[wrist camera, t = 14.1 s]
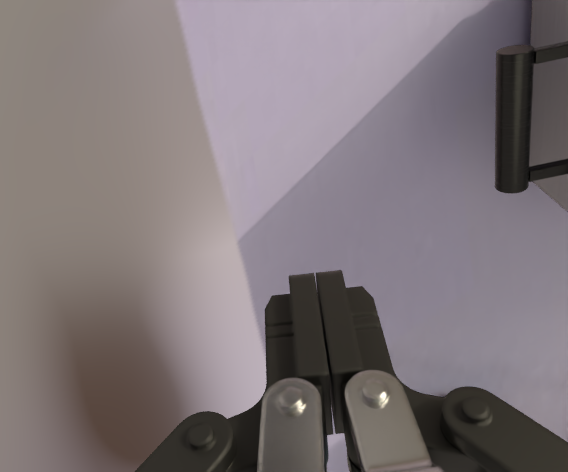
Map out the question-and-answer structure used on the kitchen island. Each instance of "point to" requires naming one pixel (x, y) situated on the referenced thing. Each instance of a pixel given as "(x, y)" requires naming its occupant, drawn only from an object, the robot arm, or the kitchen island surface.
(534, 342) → the kitchen island surface
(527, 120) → the drawer
